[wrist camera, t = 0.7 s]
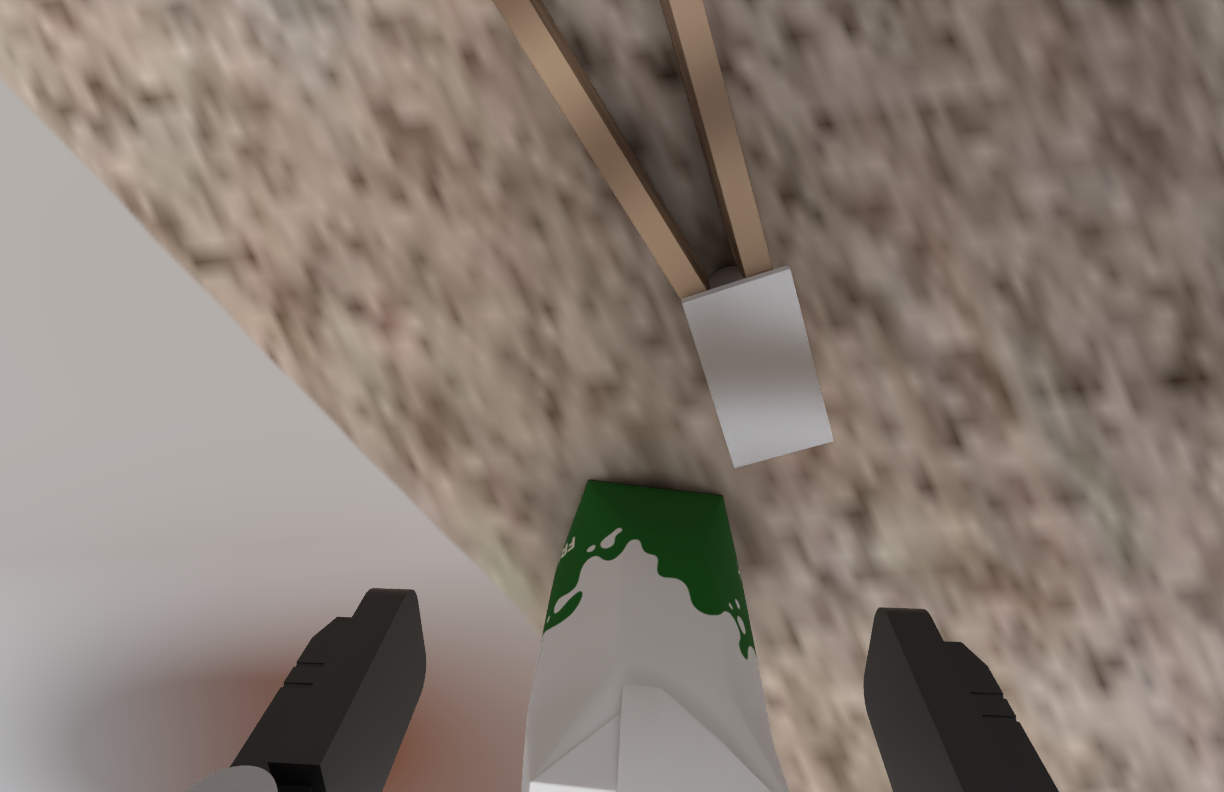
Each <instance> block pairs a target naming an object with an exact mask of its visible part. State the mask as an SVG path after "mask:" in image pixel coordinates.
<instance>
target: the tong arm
mask: <svg viewBox="0 0 1224 792" xmlns="http://www.w3.org/2000/svg"><path fill="white" fill-rule="evenodd" d="M493 2H494V4H495V5H496V7H497V8H498V10H499V12H500V13H501V15H502V16H503V18H504V20H505V21H506V23H507V24H508V26H509V28H510V29H511V31H512V32H513V34H514V35H515V37H516V39H517V40H518V42H519V43H520V45H521V47H522V48H523V50H524V51H525V53H526V55H527V56H528V58H529V59H530V61H531V62H532V64H533V66H534V67H535V69H536V70H537V72H538V74H539V75H540V77H541V78H542V80H543V82H544V83H545V85H546V86H547V88H548V89H549V91H550V93H551V94H552V96H553V97H554V99H555V101H556V102H557V104H558V105H559V107H560V109H561V110H562V112H563V113H564V115H565V116H566V118H567V120H568V121H569V123H570V124H571V126H572V128H573V129H574V131H575V132H576V134H577V136H578V137H579V139H580V140H581V142H582V144H583V145H584V147H585V148H586V150H587V151H588V153H589V155H590V156H591V158H592V159H593V161H594V163H595V164H596V166H597V167H598V169H599V171H600V172H601V174H602V175H603V177H604V178H605V180H606V182H607V183H608V185H609V186H610V188H611V190H612V191H613V193H614V194H615V196H616V198H617V199H618V201H619V202H620V204H621V205H622V207H623V209H624V210H625V212H626V213H627V215H628V217H629V218H630V220H631V221H632V223H633V225H634V226H635V228H636V229H637V231H638V232H639V234H640V236H641V237H642V239H643V240H644V242H645V244H646V245H647V247H648V248H649V250H650V252H651V253H652V255H653V256H654V258H655V260H656V261H657V263H658V264H659V266H660V267H661V269H662V271H663V272H664V274H665V275H666V277H667V279H668V280H669V282H670V283H671V285H672V287H673V288H674V290H675V291H676V293H677V294H678V296H679V298H680V299H682V298H685V297H688V296H692V295H695V294H698V293H701V292H704V291H707V290H710V289H713V288H717V287H720V286H723V285H726V284H729V283H732V282H735V281H738V280H742V279H744V278H743V276H742V274H741V272H740V270H739V268H738V267H737V266H728V267H724V268H722V269H720V270H718V271H716V272H715V273H714V274H713V275H712V276H711V277H710V278H709V280H708V278H707V275H706V272H705V270H704V268H703V266H702V265H701V263H700V261H699V260H698V258H697V257H696V255H695V253H694V252H693V250H692V248H691V247H690V245H689V243H688V242H687V240H686V238H685V237H684V235H683V233H682V232H681V230H680V228H679V227H678V225H677V224H676V222H675V220H674V219H673V217H672V215H671V214H670V212H669V210H668V209H667V207H666V205H665V204H664V202H663V200H662V199H661V197H660V196H659V194H658V192H657V191H656V189H655V187H654V186H653V184H652V182H651V181H650V179H649V177H648V176H647V174H646V172H645V171H644V169H643V168H642V166H641V164H640V163H639V161H638V159H637V158H636V156H635V154H634V153H633V151H632V149H631V148H630V146H629V144H628V143H627V141H626V140H625V138H624V136H623V135H622V133H621V131H620V130H619V128H618V126H617V125H616V123H615V121H614V120H613V118H612V116H611V115H610V113H609V112H608V110H607V108H606V107H605V105H604V103H603V102H602V100H601V98H600V97H599V95H598V93H597V92H596V90H595V88H594V87H593V85H592V84H591V82H590V80H589V79H588V77H587V75H586V74H585V72H584V70H583V69H582V67H581V65H580V64H579V62H578V60H577V59H576V57H575V55H574V54H573V52H572V51H571V49H570V47H569V46H568V44H567V42H566V41H565V39H564V37H563V36H562V34H561V32H560V31H559V29H558V27H557V26H556V24H555V23H554V21H553V19H552V18H551V16H550V14H549V13H548V11H547V9H546V8H545V6H544V4H543V3H542V1H541V0H493ZM681 301H682V300H681Z"/></svg>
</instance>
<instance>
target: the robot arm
mask: <svg viewBox="0 0 1224 792" xmlns="http://www.w3.org/2000/svg"><path fill="white" fill-rule="evenodd" d="M425 673H426V653H425V646H424V640H423V632H422V626H421V618H420V612H419V605H418V599H417V595H416V593H415V591H414V590H409V589H381V588H372V589H370V590H369V591H368V592H367V593H366V594H365V596H364V598H363V599H362V601H361V603H360V604H359V606H358V608H357V610H356V611H355V613H354V615H353V616H352V618H351V617H349V618H348V617H337V618H335V619H334V620H333V621H332V622H331V623H329V624H328V625H327V626H326V627H325V628H323V629H322V630H321V631H320V632H318V633H317V634H316V635H315V636H314V637H313V638H312V639H311V640H310V642H309V644H308V645H307V647H306V648H305V650H304V651H303V653H302V655H301V656H300V658H299V659H298V661H297V665H296V667H293V669H292V670H291V672H290V673H289V675H288V677H287V678H286V680H285V681H284V686H283V687H281V688H280V689H279V691H278V692H277V694H276V695H275V697H274V699H273V700H272V702H271V703H270V705H269V707H268V708H267V710H266V711H265V713H264V714H263V716H262V718H261V719H260V721H259V722H258V724H257V726H256V727H255V729H254V730H253V732H252V733H251V735H250V736H249V738H248V740H247V741H246V743H245V744H244V746H243V747H242V749H241V751H240V752H239V754H238V755H237V757H236V758H235V760H234V762H233V763H232V764H231V766H230V767H229V768H226V769H223V770H220V771H218V772H215V773H213V774H211V775H209V776H207V777H205V778H203V779H202V780H200V781H199V782H197V783H195V784H194V785H193V786H192V787H191V788H189V789H188V790H187V791H186V792H382V791H383V788H384V785H385V783H386V780H387V778H388V775H389V773H390V770H391V768H392V765H393V763H394V760H395V757H396V755H397V753H398V750H399V748H400V745H401V743H402V740H403V738H404V735H405V733H406V730H407V727H408V725H409V722H410V720H411V717H412V715H413V712H414V710H415V707H416V705H417V702H418V700H419V697H420V695H421V692H422V688H423V684H424V679H425ZM864 698H865V705H866V710H867V714H868V717H869V720H870V723H871V726H872V729H873V732H874V735H875V738H876V741H877V744H878V747H879V750H880V753H881V756H882V759H883V762H884V765H885V768H886V771H887V774H888V777H889V780H890V783H891V786H892V789H893V792H1059V791H1058V789H1057V788H1056V786H1055V784H1054V782H1053V780H1052V779H1051V777H1050V775H1049V773H1048V772H1047V770H1046V768H1045V766H1044V765H1043V763H1042V761H1041V759H1040V758H1039V756H1038V754H1037V752H1036V751H1035V749H1034V747H1033V745H1032V744H1031V742H1030V740H1029V738H1028V736H1027V735H1026V733H1025V731H1024V729H1023V728H1022V726H1021V724H1020V722H1017V721H1016V715H1015V714H1014V712H1013V710H1012V708H1011V707H1010V705H1009V703H1008V701H1007V700H1006V699H1004V698H1003V692H1002V691H1001V689H1000V687H999V685H998V684H997V682H996V680H995V678H994V677H993V675H992V673H991V671H990V670H989V668H988V666H987V665H986V664H985V663H984V662H982V661H981V660H980V659H979V658H978V657H977V656H976V655H975V654H974V653H973V652H971V651H970V650H969V649H968V648H967V647H966V646H965V645H964V644H963V643H962V642H944V641H943V639H942V637H941V635H940V633H939V631H938V629H937V627H936V625H935V623H934V621H933V619H932V617H931V616H930V614H929V613H928V611H926V610H925V609H909V608H878V609H877V611H876V614H875V617H874V623H873V628H872V634H871V640H870V645H869V651H868V657H867V662H866V668H865V674H864Z"/></svg>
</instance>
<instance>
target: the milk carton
mask: <svg viewBox="0 0 1224 792" xmlns="http://www.w3.org/2000/svg"><path fill="white" fill-rule="evenodd" d="M521 792H789V789H788V786H787V783H786V781H785V778H784V775H783V772H782V769H781V766H780V763H779V760H778V757H777V754H776V751H775V748H774V744H773V740H772V735H771V730H770V725H769V719H768V714H767V709H766V704H765V699H764V693H763V688H762V683H761V678H760V673H759V667H758V662H757V657H756V652H755V647H754V641H753V636H752V631H751V626H750V621H749V615H748V610H747V605H746V600H745V595H744V590H743V585H742V580H741V575H740V571H739V566H738V561H737V557H736V553H735V548H734V544H733V540H732V535H731V531H730V526H729V522H728V517H727V513H726V508H725V504H724V499H723V496H721V495H712V494H703V493H695V492H686V491H677V490H669V489H660V488H651V487H643V486H634V485H625V484H617V483H608V482H599V481H591V480H588V482H587V485H586V488H585V491H584V494H583V496H582V499H581V502H580V505H579V507H578V510H577V513H576V515H575V518H574V521H573V523H572V526H571V529H570V532H569V534H568V537H567V540H566V542H565V545H564V548H563V551H562V553H561V556H560V559H559V562H558V566H557V569H556V573H555V577H554V581H553V586H552V590H551V595H550V599H549V604H548V609H547V615H546V620H545V625H544V630H543V635H542V640H541V645H540V650H539V655H538V661H537V666H536V671H535V676H534V682H533V686H532V692H531V697H530V702H529V707H528V713H527V723H526V734H525V747H524V760H523V774H522V791H521Z"/></svg>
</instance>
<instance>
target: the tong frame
mask: <svg viewBox="0 0 1224 792" xmlns="http://www.w3.org/2000/svg"><path fill="white" fill-rule="evenodd" d="M660 1H661V5H662V8H663V12H664V15H665V19H666V23H667V26H668V30H669V33H670V37H671V40H672V44H673V47H674V51H675V54H676V58H677V62H678V65H679V69H680V72H681V76H682V79H683V83H684V86H685V90H686V93H687V97H688V101H689V104H690V108H691V111H692V115H693V118H694V122H695V125H696V129H697V132H698V136H699V140H700V143H701V147H702V150H703V154H704V157H705V161H706V164H707V168H708V171H709V175H710V179H711V182H712V186H713V189H714V193H715V196H716V200H717V203H718V207H719V210H720V214H721V218H722V221H723V225H724V228H725V232H726V235H727V239H728V242H729V246H730V249H731V253H732V256H733V258H734V260H735V262H736V264H737V266H738V268H739V270H740V272H741V274H742V276H743V278H744V279H742V280H738V281H735V282H732V283H729V284H726V285H723V286H720V287H717V288H713V289H710V290H707V291H704V292H701V293H698V294H695V295H692V296H688V297H685V298H682V299H681V300H682V305H683V308H684V311H685V314H686V317H687V320H688V324H689V327H690V330H691V333H692V336H693V339H694V343H695V346H696V349H697V352H698V355H699V358H700V361H701V365H702V368H703V371H704V374H705V377H706V380H707V383H708V387H709V390H710V393H711V396H712V399H713V402H714V406H715V409H716V412H717V415H718V418H719V421H720V424H721V428H722V431H723V434H724V437H725V440H726V443H727V446H728V450H729V453H730V456H731V459H732V462H733V465H734V468H737V467H741V466H745V465H748V464H752V463H756V462H759V461H763V460H767V459H770V458H774V457H778V456H781V455H785V454H789V453H792V452H796V451H800V450H803V449H807V448H810V447H814V446H818V445H821V444H825V443H829V442H832V441H834V440H833V436H832V432H831V428H830V424H829V420H828V416H827V412H826V408H825V404H824V400H823V396H822V392H821V388H820V384H819V381H818V377H817V373H816V369H815V365H814V361H813V357H812V353H811V349H810V345H809V341H808V337H807V333H806V329H805V325H804V321H803V317H802V313H801V309H800V305H799V301H798V297H797V293H796V289H795V285H794V281H793V277H792V274H791V270H790V268H789V266H788V265H785V266H782V267H779V268H776V269H773V268H772V264H771V260H770V256H769V253H768V249H767V245H766V241H765V237H764V234H763V230H762V226H761V222H760V218H759V214H758V211H757V207H756V203H755V199H754V195H753V192H752V188H751V184H750V180H749V176H748V172H747V169H746V165H745V161H744V157H743V153H742V150H741V146H740V142H739V138H738V134H737V130H736V127H735V123H734V119H733V115H732V111H731V108H730V104H729V100H728V96H727V92H726V88H725V85H724V81H723V77H722V73H721V69H720V66H719V62H718V58H717V54H716V50H715V46H714V43H713V39H712V35H711V31H710V27H709V24H708V20H707V16H706V12H705V8H704V4H703V1H702V0H660Z"/></svg>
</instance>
